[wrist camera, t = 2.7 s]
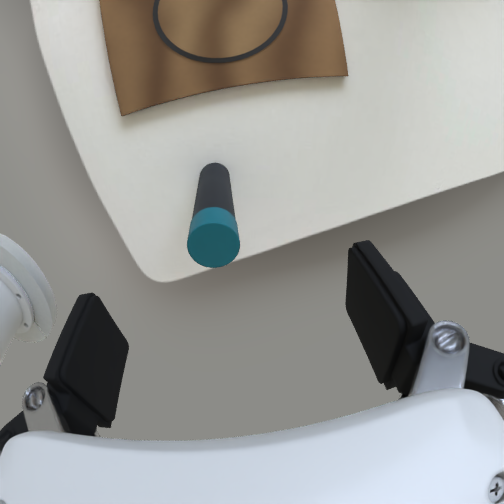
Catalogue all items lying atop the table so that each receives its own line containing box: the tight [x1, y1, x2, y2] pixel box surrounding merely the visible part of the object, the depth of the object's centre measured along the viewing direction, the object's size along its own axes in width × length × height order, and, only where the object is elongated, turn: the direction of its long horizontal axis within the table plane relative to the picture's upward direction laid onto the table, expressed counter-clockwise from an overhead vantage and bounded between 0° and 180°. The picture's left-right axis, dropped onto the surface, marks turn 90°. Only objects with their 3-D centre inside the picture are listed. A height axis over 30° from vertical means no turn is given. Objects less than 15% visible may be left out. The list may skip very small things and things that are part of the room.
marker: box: [187, 163, 240, 268], centre depth 18 cm, size 2×2×11 cm
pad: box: [100, 0, 348, 116], centre depth 15 cm, size 18×14×1 cm
